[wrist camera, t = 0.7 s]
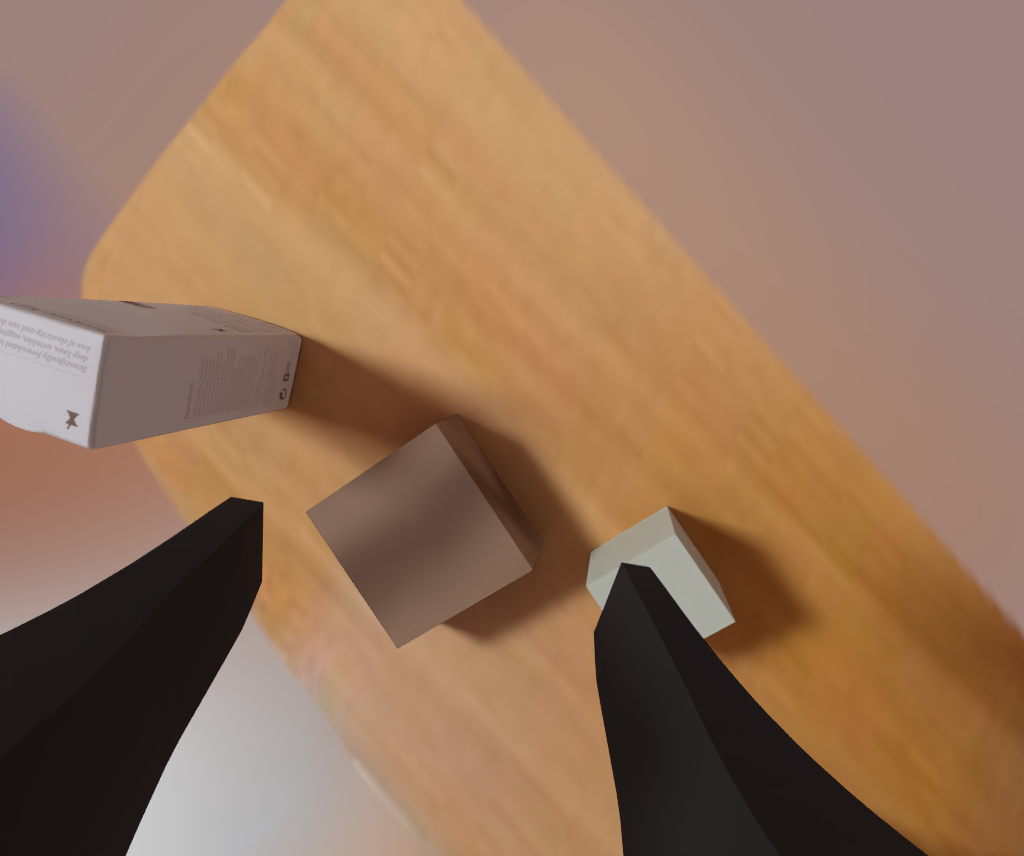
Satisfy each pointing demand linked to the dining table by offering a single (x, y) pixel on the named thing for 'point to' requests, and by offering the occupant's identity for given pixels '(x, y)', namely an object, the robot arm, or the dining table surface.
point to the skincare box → (136, 367)
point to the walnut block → (427, 531)
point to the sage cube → (664, 569)
